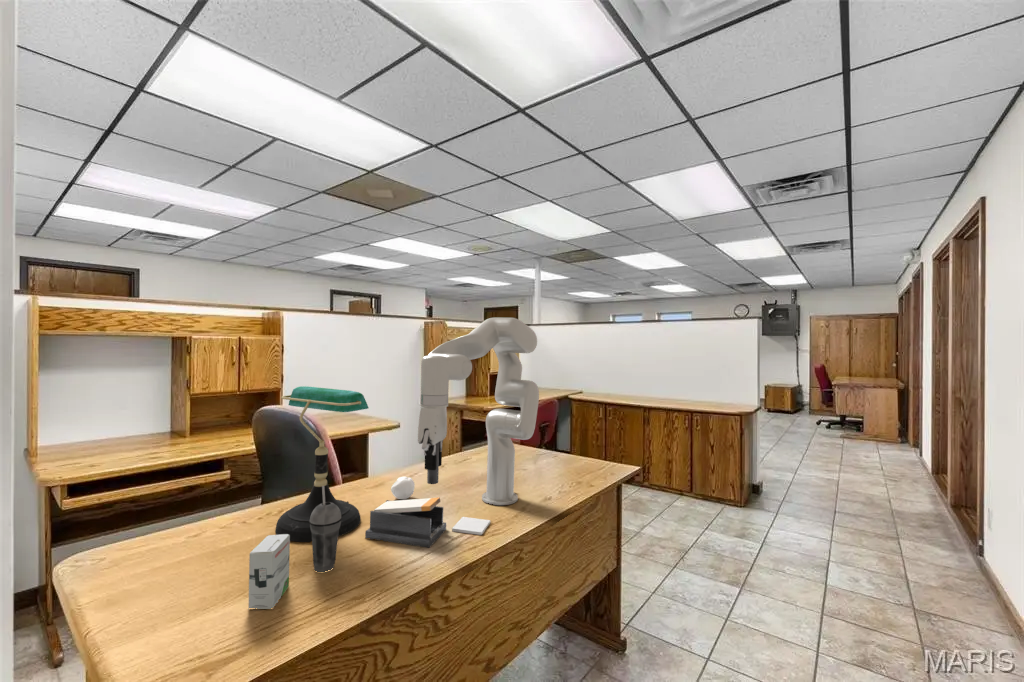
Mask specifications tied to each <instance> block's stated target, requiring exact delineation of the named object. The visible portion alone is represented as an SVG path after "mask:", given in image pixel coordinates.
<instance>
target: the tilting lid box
mask: <svg viewBox="0 0 1024 682" xmlns="http://www.w3.org/2000/svg"><path fill="white" fill-rule="evenodd" d="M386 501H391V500H388V499H387V500H386ZM369 513H370V515H369V528H367V530H365V538H364V539H366V538H370V539H369V540H373V539H376V540H375V541H380V540H383V541H382V542H387V541H388V542H387V543H395V544H400V543H401V545H402V544H403V545H408V546H409V545H410V546H414V547H421V548H431V546H432V545H433V544H434V543H435V542H436V541H437V540H438V539H439V538H440V537H441V536H442V535H443V534H444V533H445V532H446V530H447V522H444V506H437V505H436V506H435V507H434V508H433V509H432V510H431V511H415V512H399V513H386V512H379V511H374V510H370V511H369Z"/></svg>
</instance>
